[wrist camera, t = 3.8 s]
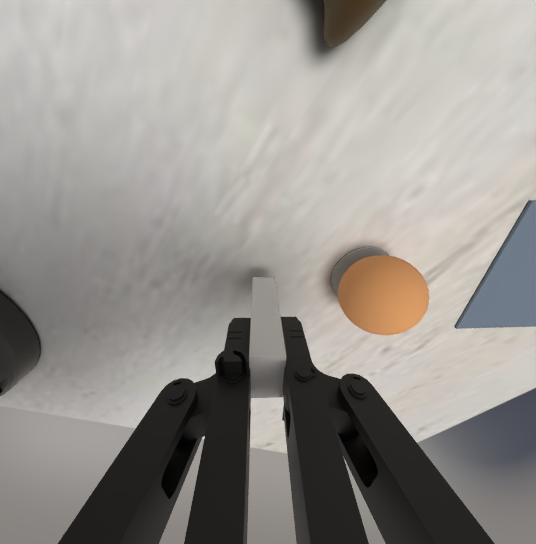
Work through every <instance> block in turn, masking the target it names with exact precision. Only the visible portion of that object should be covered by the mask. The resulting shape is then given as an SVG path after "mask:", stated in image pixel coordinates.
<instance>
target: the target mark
mask: <svg viewBox="0 0 536 544" xmlns="http://www.w3.org/2000/svg"><path fill="white" fill-rule="evenodd" d="M529 326H536V201H529V202H528V204H527V206H526V207H525V209H524V211H523V212H522V214H521V216H520V217H519V219H518V221H517V222H516V224H515V226H514V228H513V229H512V231H511V233H510V234H509V236H508V238H507V239H506V241H505V243H504V244H503V246H502V248H501V250H500V251H499V253H498V255H497V256H496V258H495V260H494V261H493V263H492V265H491V266H490V268H489V270H488V272H487V273H486V275H485V277H484V278H483V280H482V282H481V283H480V285H479V287H478V288H477V290H476V292H475V294H474V295H473V297H472V299H471V300H470V302H469V304H468V305H467V307H466V309H465V310H464V312H463V314H462V316H461V317H460V319H459V321H458V322H457V324H456V326H455V328H456V329H458V328H494V327H529Z"/></svg>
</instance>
